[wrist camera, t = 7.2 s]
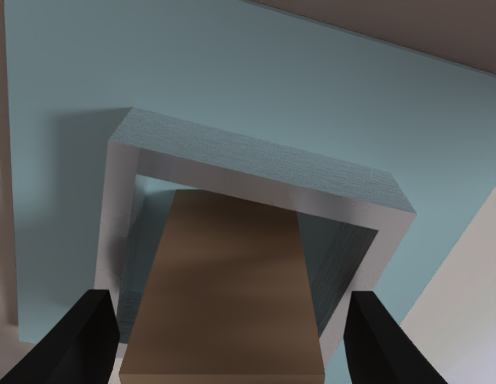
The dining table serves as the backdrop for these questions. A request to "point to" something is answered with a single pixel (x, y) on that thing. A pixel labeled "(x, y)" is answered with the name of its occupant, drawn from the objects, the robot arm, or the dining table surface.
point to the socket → (254, 189)
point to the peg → (226, 299)
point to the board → (229, 129)
